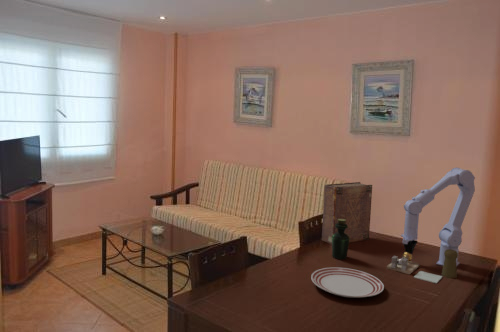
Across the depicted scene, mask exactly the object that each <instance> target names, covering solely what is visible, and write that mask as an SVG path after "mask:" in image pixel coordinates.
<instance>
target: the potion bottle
mask: <svg viewBox="0 0 500 332" xmlns="http://www.w3.org/2000/svg"><path fill="white" fill-rule="evenodd" d="M345 222H346V220H345V219H338V223H337V224H336V225H335V227H336V228H337V230H338V232H337V233H335V234H333V236H332V244H331V251H332V252H331V255H332V257H333V258H334V259H336V260H346V259H347V258H348V252H349V245H350V243H349V239H350V238H349V236H348V235H347V234H345V233H344V232H345V229H346V228H348V226H347V224H345Z"/></svg>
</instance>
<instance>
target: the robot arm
mask: <svg viewBox="0 0 500 332" xmlns="http://www.w3.org/2000/svg"><path fill="white" fill-rule="evenodd" d="M475 179H476V177H475V175H474V174H473V172H472V171H471V170H468V169H464V168H460V167H452V169H451V170H449V171H447V172H446V174H445V175H444V176H442V177H441V179H439V180H438V181H437V182H436V183H435V184H434V185H432V186H431V187H430V188H428V189H427V188H426V189H421V190H420V191H419V193H418V194H417V195H416V196H414V197H412V198H411V199H408V200H407V201H406V202H404V203H405V204H403V210H404V211H405V214H404V215H405V216H404V226H403V227H404V230H403V233H402V234H400V237H403V238H402V241H401V242H402V243H401V244H403V247H404V253H405V252H409V253H411V254H412V255H413V253H414V250H415V248H416V246H417V244H418V239H419V237H418V236H419V234H418V231H419V222H420V221H419V220H420V219H419V217H420V214H421V213H422V212H423V211H422V210H423V209H424V208H425V207H426V206H427V205H428V204H430V203H431V202H432V201H434V200H435V196H436V195H437V194H439V193H440V192H441V191H443V190H445V189H446V188H447V187H449V186H451V185H452V186H453V185H454V186H457V187H458V189H459V193H458V195H457V199H456V202H455V204H454V206H453V209H452V211H451V214H450V216H449V220H448V222H447V223H445V224H444V225H443V227H442V229H440V231H439V232H438V238H439V240H440V245H439V247H440V248H439V258H438V260H437V262H436V265H438V266H439V265H440V266H442V267H443V265H444V261H445V255H444V252H445V250H447V249H451V250H455V251H457V253H458V254H459V251H460V250H459V246H461V244H462V240H463V238H462V235H463V230H462V226H463V222H464V221H465V217H466V214H467V212H468V209H469V207H470V205H471V202H472V199H473V196H474V194H475V191H476V190H475V189H476V187H475V186H476V185H475ZM458 260H459V256H458V257H457V258H456V268H457V267H458V266H459V265H460V263H461V262H460V261H458Z"/></svg>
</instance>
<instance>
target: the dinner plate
mask: <svg viewBox="0 0 500 332" xmlns="http://www.w3.org/2000/svg"><path fill="white" fill-rule="evenodd" d="M310 278H311V281H312V283H313V284H314V286H317V288H319V289H321V290H323V291H325V292H327V293H330V294H333V295H335V296H338V297H342V298H352V299H354V298H355V299H356V298H358V299H359V298H367V297H374V296H377V295H379V294H381V293H383V291H384V289H385V285H384V283H383V282H382V281H381V280H380V279H379V278H378V277H376V276H375V275H372V274H370V273H368V272H365V271H362V270H357V269H354V268H353V269H352V268H348V267H323V268H320V269H316V270H315V271H313V272H312V273H311V276H310Z"/></svg>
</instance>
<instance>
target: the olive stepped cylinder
mask: <svg viewBox="0 0 500 332" xmlns="http://www.w3.org/2000/svg"><path fill="white" fill-rule="evenodd" d="M444 255H445V261H444V265H443V266H442V270H441V275H440V276H443V277H445V278H449V279H456V278H457V277H458V272H457V271H458V270H457V267H456V258H457V257H458V258H459V252H458V253H457V251H455V250H451V249H447V250H445V252H444Z"/></svg>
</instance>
